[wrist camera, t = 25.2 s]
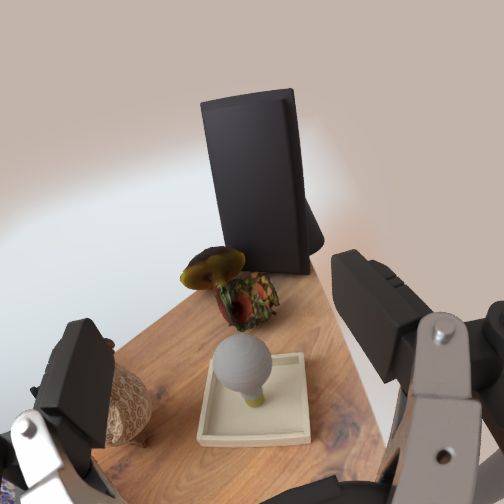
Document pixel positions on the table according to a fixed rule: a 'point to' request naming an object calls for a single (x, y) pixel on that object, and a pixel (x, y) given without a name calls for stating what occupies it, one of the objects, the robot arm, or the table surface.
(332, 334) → the table surface
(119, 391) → the figurine
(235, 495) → the table surface
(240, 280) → the mushroom
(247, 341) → the light bulb
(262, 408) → the ivory tray
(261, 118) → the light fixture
